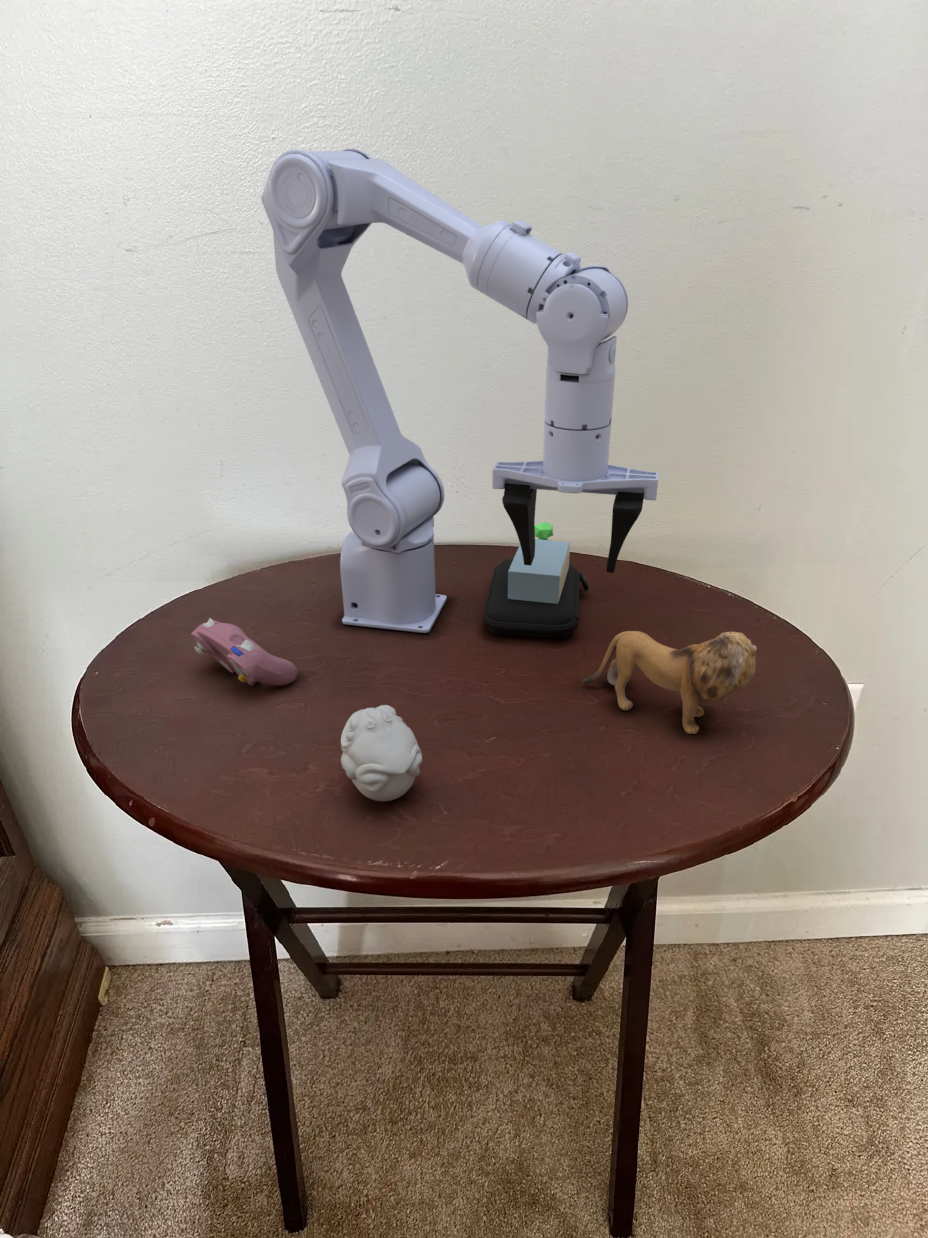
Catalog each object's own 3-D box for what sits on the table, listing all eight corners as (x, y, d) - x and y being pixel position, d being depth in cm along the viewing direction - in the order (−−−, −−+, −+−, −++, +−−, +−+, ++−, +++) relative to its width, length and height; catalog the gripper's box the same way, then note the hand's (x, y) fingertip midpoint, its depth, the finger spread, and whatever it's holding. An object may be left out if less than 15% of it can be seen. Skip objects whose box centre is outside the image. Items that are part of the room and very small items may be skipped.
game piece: (564, 564, 102) (567, 517, 99) (555, 579, 98) (557, 531, 95) (530, 558, 103) (531, 512, 100) (519, 573, 99) (520, 526, 96)
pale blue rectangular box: (507, 599, 87) (508, 571, 86) (521, 564, 94) (522, 537, 93) (558, 604, 86) (559, 575, 85) (569, 568, 93) (570, 541, 92)
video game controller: (212, 673, 84) (172, 630, 79) (244, 639, 86) (207, 595, 81) (272, 712, 78) (233, 668, 73) (305, 675, 80) (269, 629, 75)
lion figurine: (750, 716, 74) (767, 626, 70) (736, 749, 70) (753, 656, 66) (591, 673, 80) (598, 588, 76) (570, 702, 76) (575, 614, 72)
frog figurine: (396, 754, 70) (392, 683, 67) (440, 802, 65) (438, 727, 61) (329, 780, 67) (321, 708, 64) (369, 833, 62) (363, 756, 59)
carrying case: (587, 646, 85) (588, 581, 97) (588, 620, 83) (589, 557, 96) (480, 640, 86) (495, 576, 99) (480, 613, 85) (495, 552, 97)
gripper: (485, 429, 71) (485, 575, 78) (662, 439, 68) (646, 590, 75) (501, 407, 77) (500, 544, 84) (665, 415, 74) (650, 557, 81)
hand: (569, 564), depth 80 cm, fingers open, 7 cm apart
